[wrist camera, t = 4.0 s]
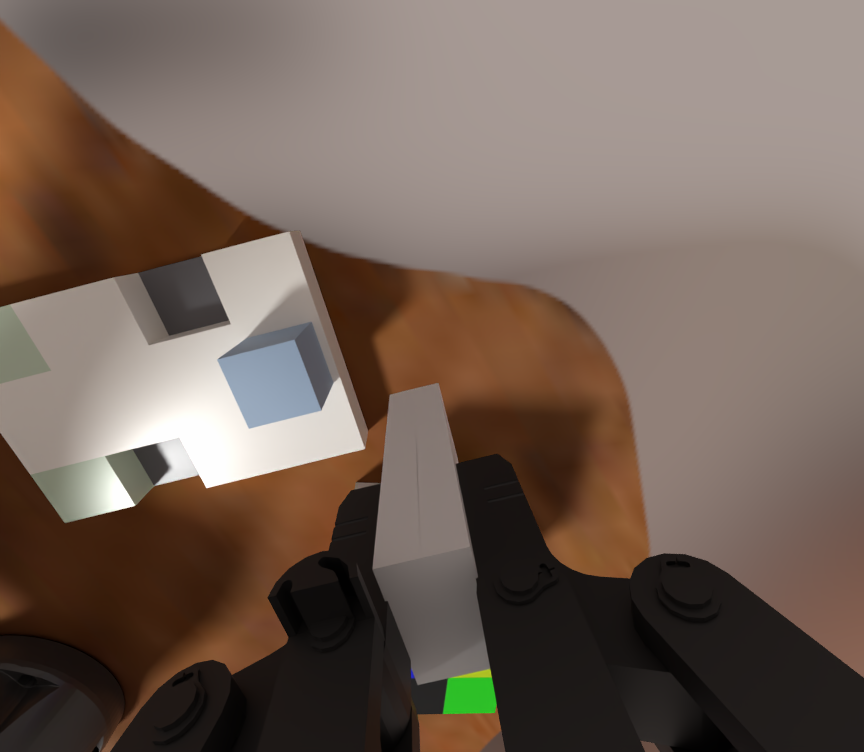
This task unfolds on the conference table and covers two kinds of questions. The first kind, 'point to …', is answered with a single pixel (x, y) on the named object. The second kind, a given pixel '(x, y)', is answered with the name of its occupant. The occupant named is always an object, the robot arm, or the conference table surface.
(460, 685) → the puzzle toy
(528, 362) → the conference table surface
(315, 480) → the conference table surface
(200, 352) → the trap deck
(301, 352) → the block
